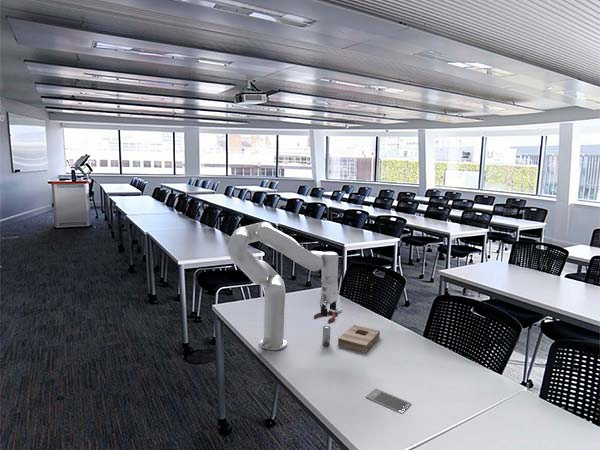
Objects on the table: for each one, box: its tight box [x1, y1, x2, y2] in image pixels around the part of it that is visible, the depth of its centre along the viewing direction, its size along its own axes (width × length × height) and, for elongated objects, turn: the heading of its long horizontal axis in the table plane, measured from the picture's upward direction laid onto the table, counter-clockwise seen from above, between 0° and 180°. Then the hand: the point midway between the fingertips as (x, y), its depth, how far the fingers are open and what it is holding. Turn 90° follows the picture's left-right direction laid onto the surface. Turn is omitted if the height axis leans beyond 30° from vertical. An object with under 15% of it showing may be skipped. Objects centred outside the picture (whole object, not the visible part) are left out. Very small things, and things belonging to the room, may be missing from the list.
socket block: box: [337, 324, 381, 354], centre depth 201 cm, size 20×14×4 cm
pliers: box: [313, 308, 343, 324], centre depth 233 cm, size 12×20×3 cm, turn 144°
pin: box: [321, 325, 332, 347], centre depth 195 cm, size 4×4×9 cm
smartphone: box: [365, 388, 412, 412], centre depth 151 cm, size 15×8×1 cm, turn 51°
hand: (328, 312), depth 193 cm, fingers open, 9 cm apart
